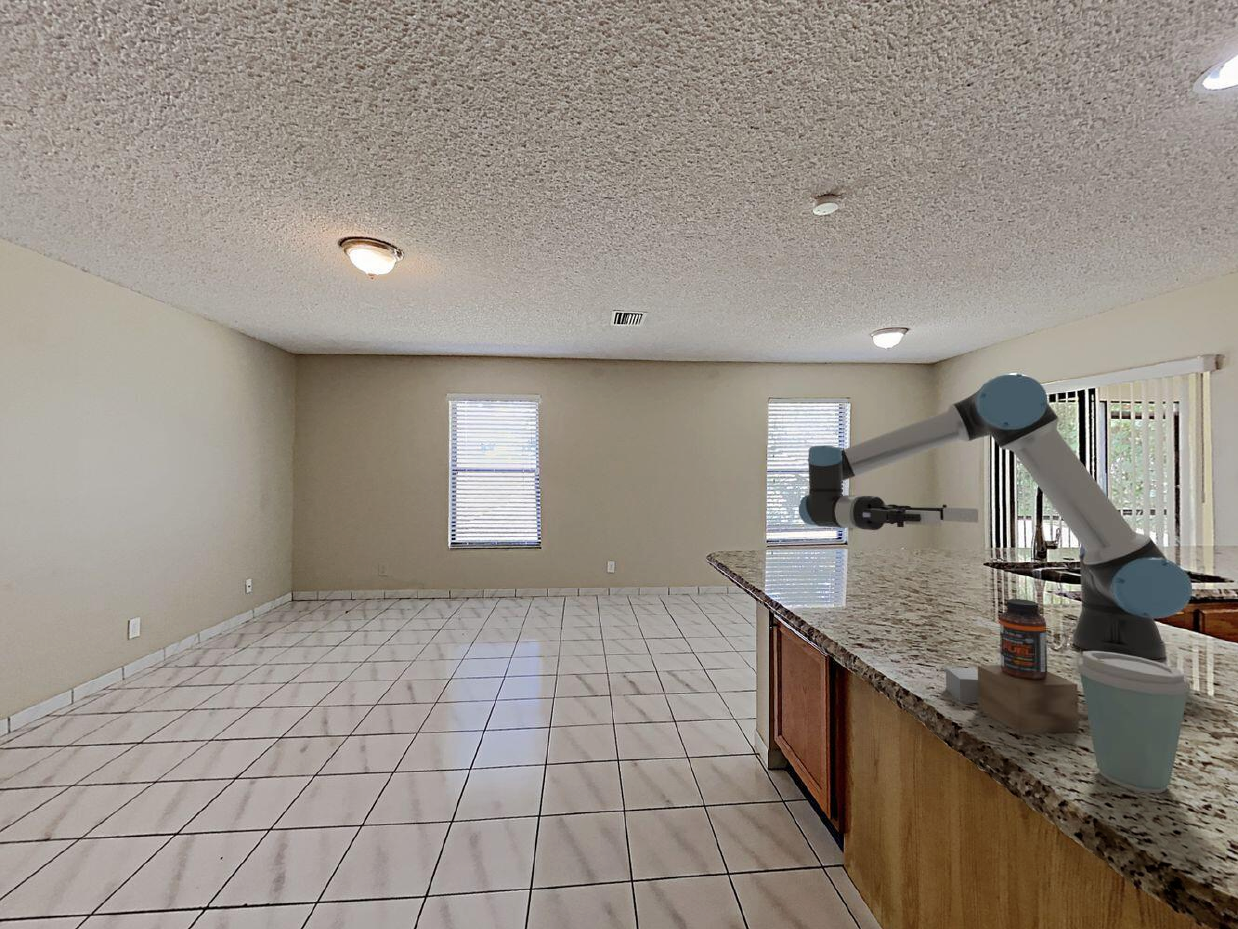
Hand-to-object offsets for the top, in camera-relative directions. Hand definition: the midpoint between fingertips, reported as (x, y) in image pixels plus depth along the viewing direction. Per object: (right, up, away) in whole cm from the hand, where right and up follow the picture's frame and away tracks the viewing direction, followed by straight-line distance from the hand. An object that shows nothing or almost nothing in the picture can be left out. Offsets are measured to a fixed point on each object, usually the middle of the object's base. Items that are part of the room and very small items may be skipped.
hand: (959, 517), depth 110 cm
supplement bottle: (-3, -23, -22) cm, 32 cm away
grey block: (-5, -30, -12) cm, 33 cm away
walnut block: (-3, -29, -22) cm, 37 cm away
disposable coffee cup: (-2, -29, -40) cm, 50 cm away
